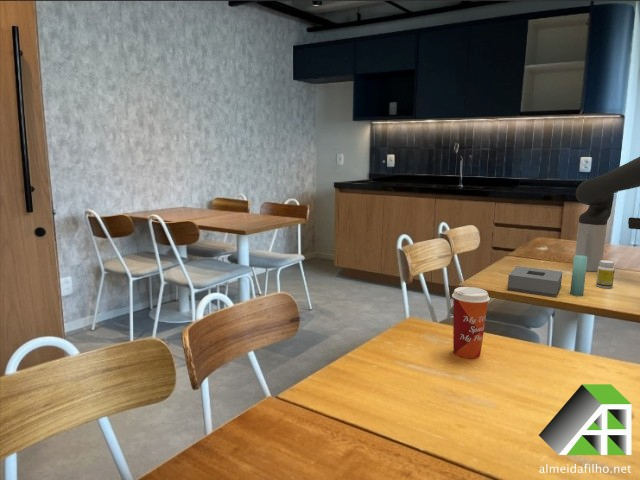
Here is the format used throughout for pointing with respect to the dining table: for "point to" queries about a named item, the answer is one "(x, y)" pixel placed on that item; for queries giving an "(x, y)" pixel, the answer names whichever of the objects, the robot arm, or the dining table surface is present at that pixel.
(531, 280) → the socket block
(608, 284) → the supplement bottle
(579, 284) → the pin
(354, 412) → the dining table surface
